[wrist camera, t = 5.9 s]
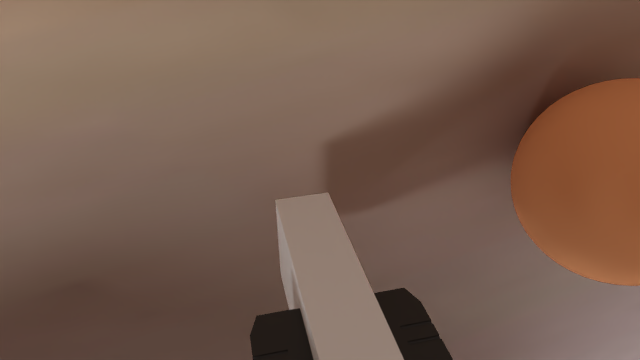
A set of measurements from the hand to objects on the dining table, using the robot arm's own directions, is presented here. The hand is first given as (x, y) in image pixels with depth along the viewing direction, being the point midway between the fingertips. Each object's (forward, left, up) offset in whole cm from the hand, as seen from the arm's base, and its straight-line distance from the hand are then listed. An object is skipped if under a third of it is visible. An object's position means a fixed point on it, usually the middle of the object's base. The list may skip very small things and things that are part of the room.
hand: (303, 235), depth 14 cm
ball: (-1, -9, +1) cm, 9 cm away
